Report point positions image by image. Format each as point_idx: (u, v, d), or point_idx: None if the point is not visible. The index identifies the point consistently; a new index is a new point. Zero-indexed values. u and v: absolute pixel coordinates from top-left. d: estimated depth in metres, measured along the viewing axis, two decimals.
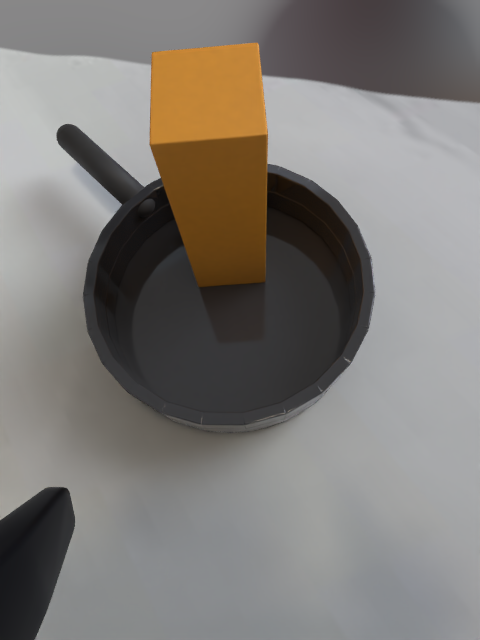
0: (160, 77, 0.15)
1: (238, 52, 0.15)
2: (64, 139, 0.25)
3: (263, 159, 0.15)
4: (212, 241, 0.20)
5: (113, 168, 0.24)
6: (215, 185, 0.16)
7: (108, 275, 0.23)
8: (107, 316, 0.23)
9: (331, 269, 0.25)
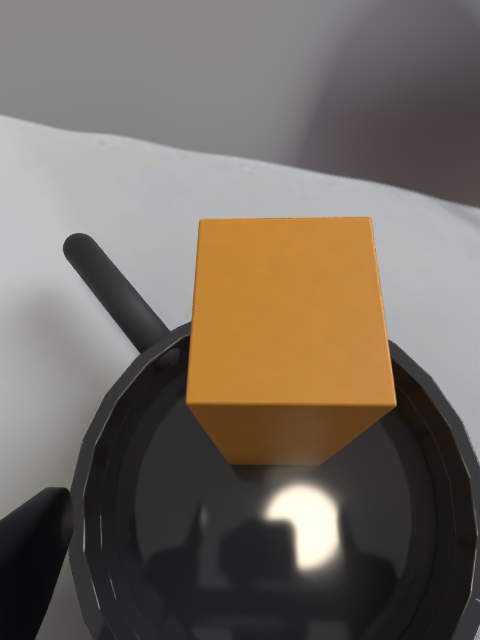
0: (211, 267, 0.09)
1: (339, 232, 0.09)
2: (72, 254, 0.20)
3: (374, 418, 0.09)
4: (259, 450, 0.14)
5: (129, 302, 0.18)
6: (283, 428, 0.10)
7: (110, 449, 0.17)
8: (101, 513, 0.16)
9: (410, 454, 0.18)
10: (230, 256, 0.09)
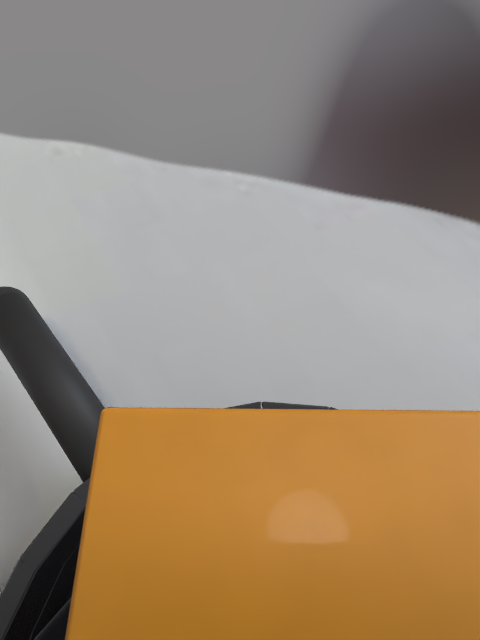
0: (116, 582, 0.03)
1: (477, 467, 0.03)
2: None
3: None
4: None
5: (65, 399, 0.12)
6: None
7: (31, 630, 0.11)
8: None
9: None
10: (173, 541, 0.03)
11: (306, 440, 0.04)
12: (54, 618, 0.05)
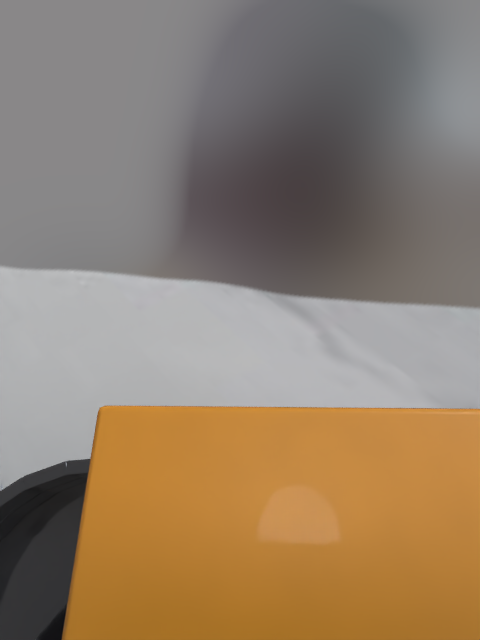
0: (113, 579, 0.03)
1: (473, 464, 0.03)
2: None
3: None
4: None
5: None
6: None
7: None
8: None
9: None
10: (170, 539, 0.03)
11: (303, 438, 0.04)
12: (55, 618, 0.05)
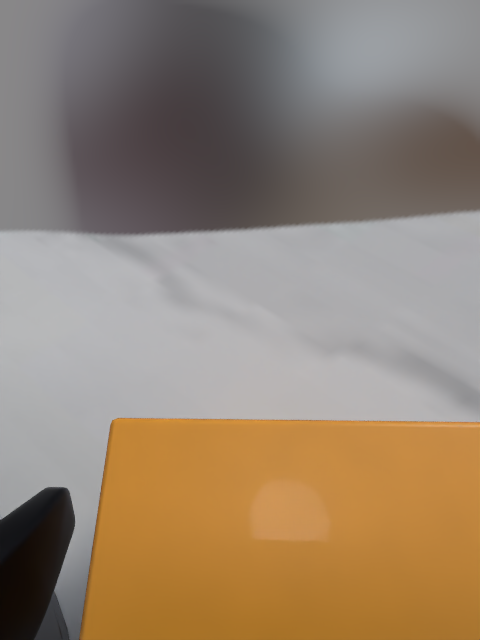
0: (127, 582, 0.03)
1: (462, 475, 0.04)
2: None
3: None
4: None
5: None
6: None
7: None
8: None
9: None
10: (179, 545, 0.04)
11: (303, 450, 0.04)
12: None
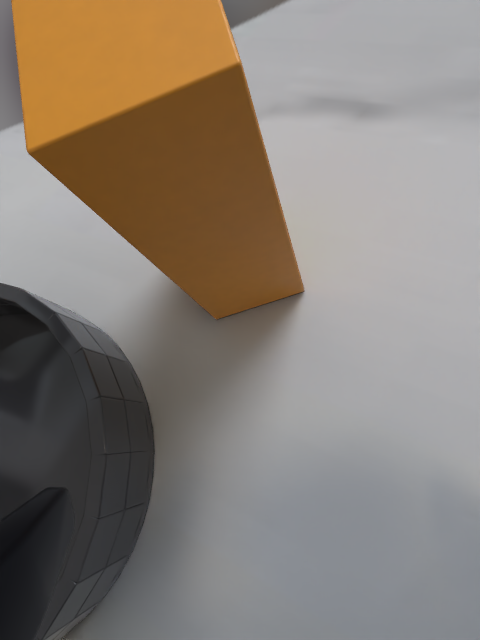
0: (28, 22, 0.08)
1: None
2: None
3: (249, 116, 0.08)
4: (211, 266, 0.13)
5: None
6: (180, 188, 0.09)
7: None
8: None
9: None
10: (45, 3, 0.08)
11: None
12: None
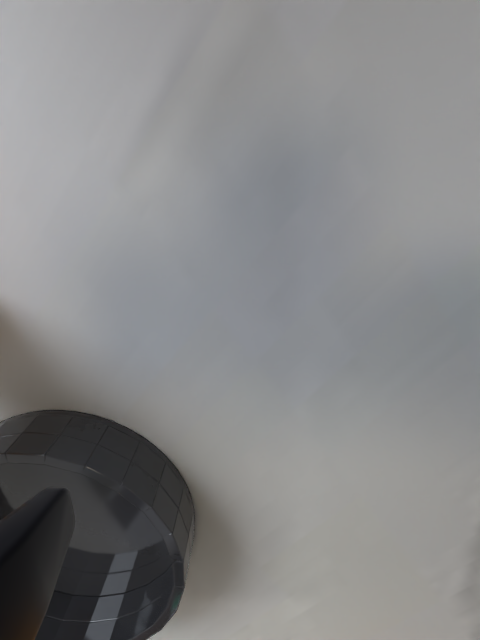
0: None
1: None
2: None
3: None
4: None
5: None
6: None
7: (89, 621, 0.26)
8: (124, 614, 0.26)
9: None
10: None
11: None
12: None
